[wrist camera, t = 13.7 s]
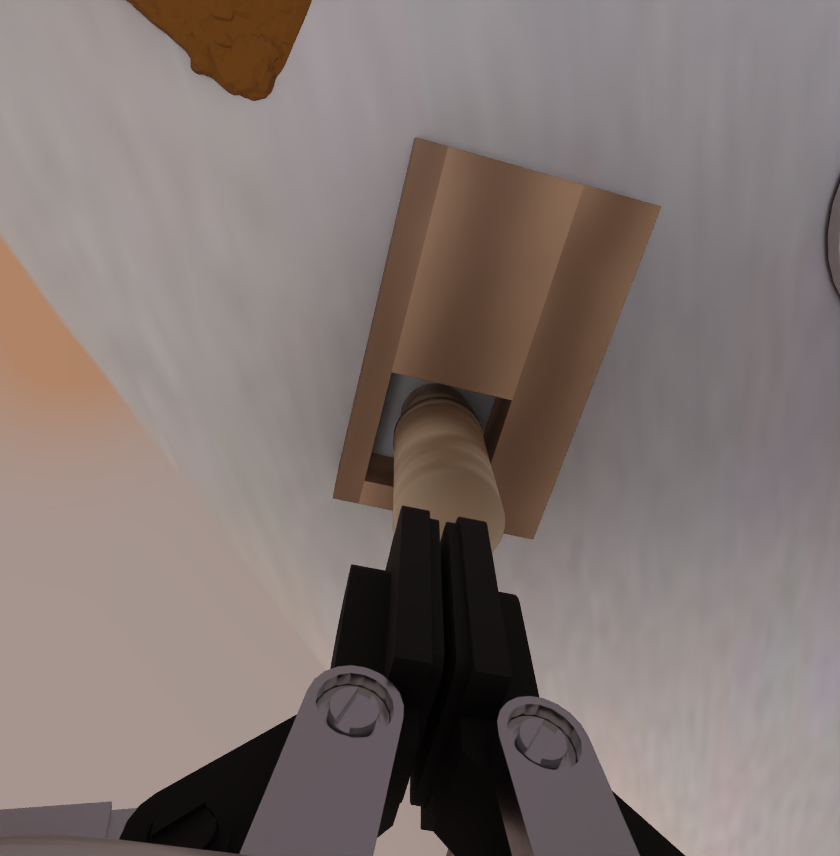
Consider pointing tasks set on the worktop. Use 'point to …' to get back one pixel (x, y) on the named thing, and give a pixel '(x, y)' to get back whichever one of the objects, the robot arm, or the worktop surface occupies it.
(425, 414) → the peg
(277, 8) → the primitive tool
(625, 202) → the board
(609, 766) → the worktop surface
